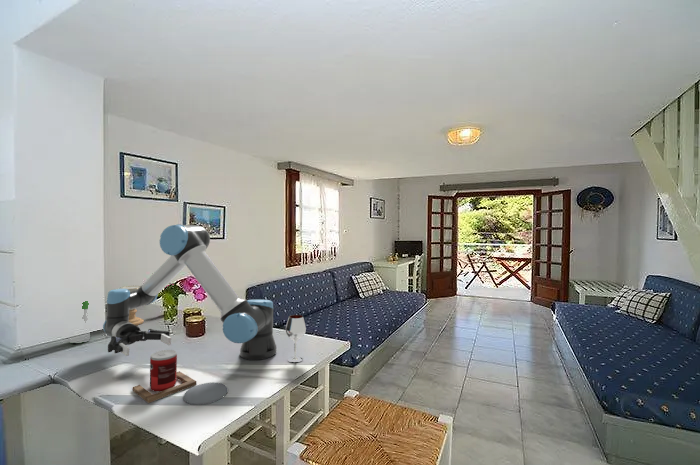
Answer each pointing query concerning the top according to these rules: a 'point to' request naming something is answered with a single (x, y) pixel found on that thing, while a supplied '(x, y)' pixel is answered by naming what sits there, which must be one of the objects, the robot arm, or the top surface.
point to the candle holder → (132, 316)
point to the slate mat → (205, 393)
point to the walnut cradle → (152, 397)
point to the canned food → (163, 370)
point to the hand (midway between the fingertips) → (149, 346)
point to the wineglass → (295, 330)
